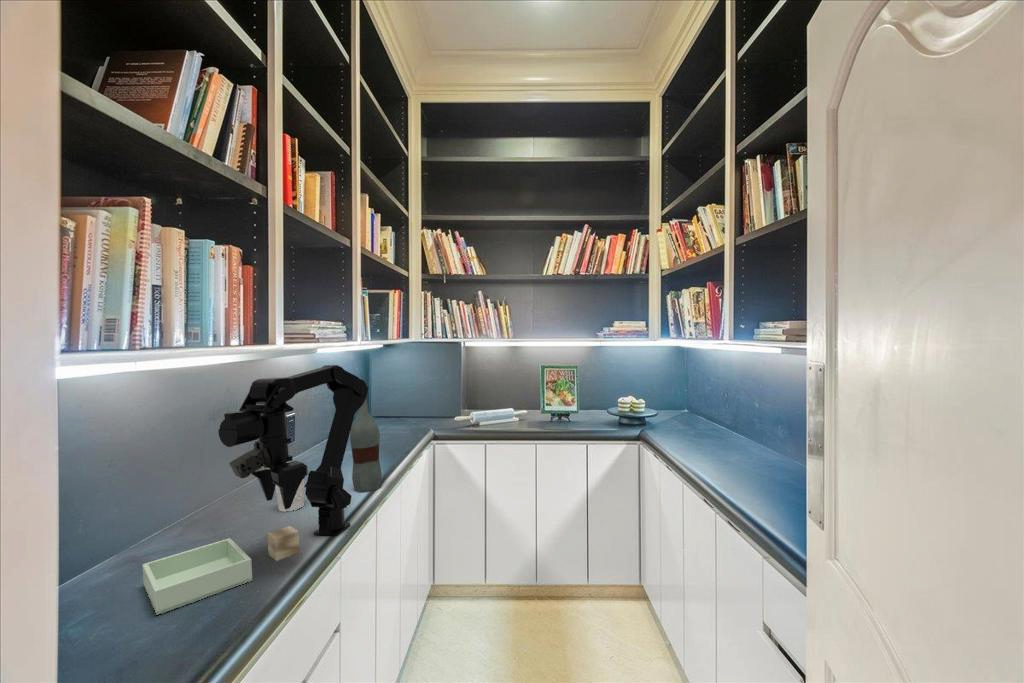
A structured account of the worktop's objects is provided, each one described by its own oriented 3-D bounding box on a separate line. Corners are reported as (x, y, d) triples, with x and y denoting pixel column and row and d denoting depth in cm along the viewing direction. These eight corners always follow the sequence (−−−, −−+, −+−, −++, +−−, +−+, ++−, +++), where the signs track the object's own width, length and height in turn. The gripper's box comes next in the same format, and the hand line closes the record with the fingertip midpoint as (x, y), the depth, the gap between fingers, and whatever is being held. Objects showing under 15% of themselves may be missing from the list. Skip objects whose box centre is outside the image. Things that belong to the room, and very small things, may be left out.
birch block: (291, 547, 110) (290, 525, 110) (299, 553, 107) (298, 531, 107) (268, 554, 107) (267, 532, 107) (276, 561, 103) (274, 538, 103)
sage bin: (231, 557, 106) (229, 538, 106) (252, 581, 95) (251, 559, 95) (143, 586, 95) (142, 564, 95) (156, 616, 84) (155, 591, 84)
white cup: (311, 506, 137) (309, 472, 137) (283, 515, 131) (281, 479, 131) (299, 501, 142) (297, 468, 142) (271, 509, 137) (269, 474, 136)
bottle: (367, 482, 158) (362, 393, 158) (388, 484, 154) (383, 393, 154) (346, 491, 150) (341, 397, 149) (368, 494, 146) (362, 397, 145)
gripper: (217, 438, 104) (223, 507, 105) (250, 449, 92) (256, 527, 93) (269, 427, 113) (274, 492, 113) (306, 436, 100) (311, 508, 101)
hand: (278, 504), depth 105 cm, fingers open, 9 cm apart
